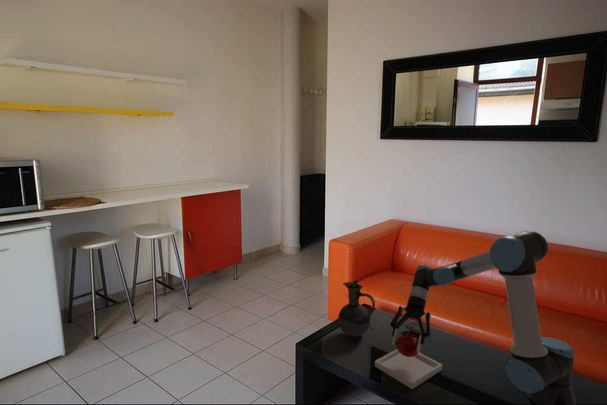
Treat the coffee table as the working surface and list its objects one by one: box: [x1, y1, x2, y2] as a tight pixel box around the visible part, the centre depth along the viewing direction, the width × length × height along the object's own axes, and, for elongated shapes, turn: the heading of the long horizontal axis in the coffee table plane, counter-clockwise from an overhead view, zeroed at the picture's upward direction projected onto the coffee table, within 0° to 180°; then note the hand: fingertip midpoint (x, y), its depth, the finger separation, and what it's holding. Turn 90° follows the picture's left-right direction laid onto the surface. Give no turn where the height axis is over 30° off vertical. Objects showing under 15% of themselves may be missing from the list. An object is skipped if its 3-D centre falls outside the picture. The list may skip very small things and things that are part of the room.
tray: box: [374, 348, 443, 390], centre depth 167 cm, size 20×20×2 cm
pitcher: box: [337, 279, 376, 341], centre depth 190 cm, size 11×19×30 cm, turn 53°
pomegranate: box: [395, 331, 419, 357], centre depth 165 cm, size 10×10×9 cm
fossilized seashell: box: [404, 320, 427, 335], centre depth 196 cm, size 11×11×7 cm
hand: (405, 347), depth 163 cm, fingers closed on pomegranate, 10 cm apart
